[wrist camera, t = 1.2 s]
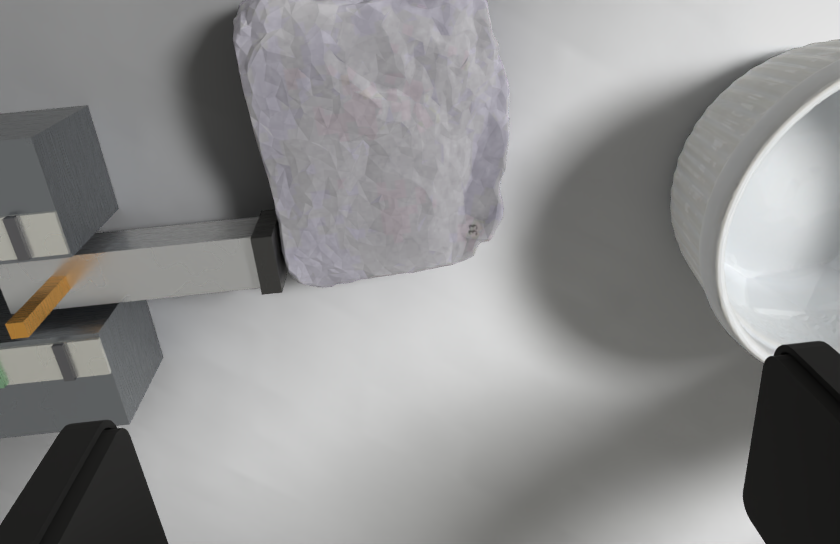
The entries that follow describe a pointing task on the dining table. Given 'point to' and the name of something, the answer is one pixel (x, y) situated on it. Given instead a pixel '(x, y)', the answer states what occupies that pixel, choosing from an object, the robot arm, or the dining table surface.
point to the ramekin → (767, 202)
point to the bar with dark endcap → (148, 268)
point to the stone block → (376, 130)
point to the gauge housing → (53, 239)
